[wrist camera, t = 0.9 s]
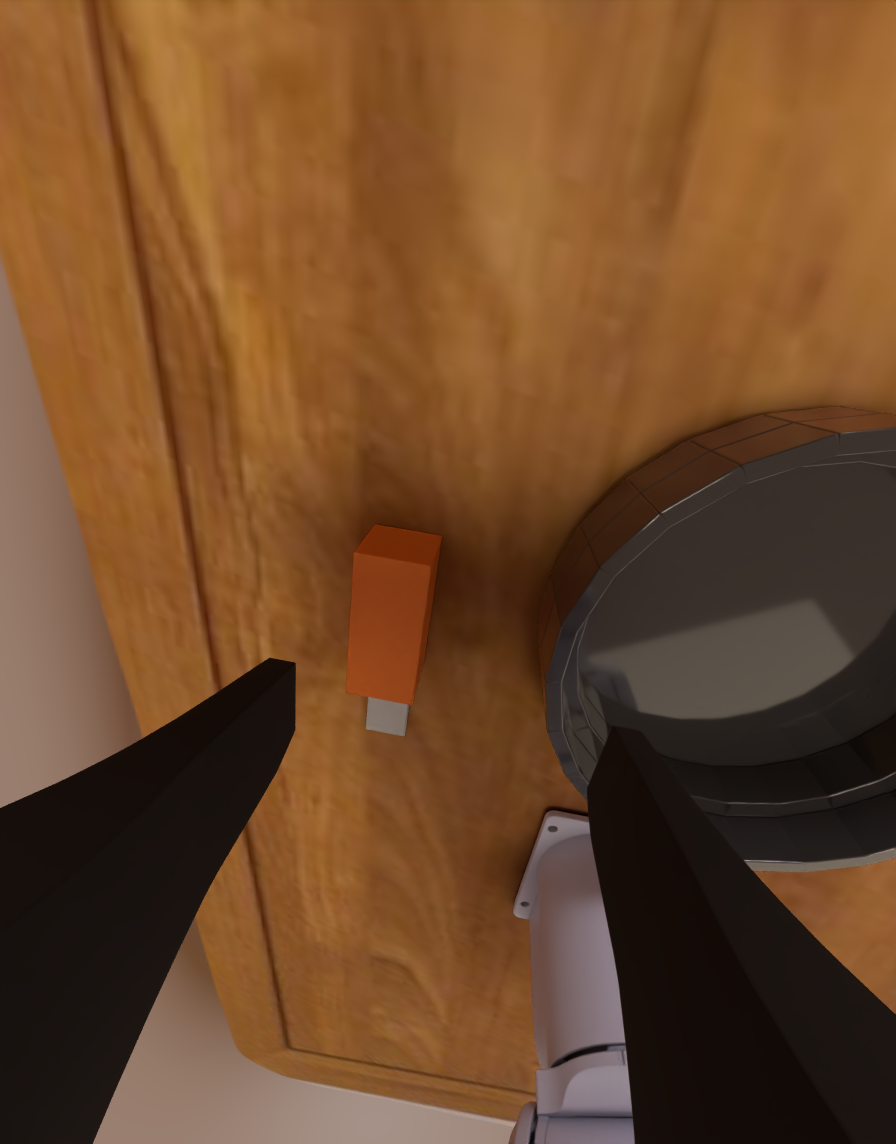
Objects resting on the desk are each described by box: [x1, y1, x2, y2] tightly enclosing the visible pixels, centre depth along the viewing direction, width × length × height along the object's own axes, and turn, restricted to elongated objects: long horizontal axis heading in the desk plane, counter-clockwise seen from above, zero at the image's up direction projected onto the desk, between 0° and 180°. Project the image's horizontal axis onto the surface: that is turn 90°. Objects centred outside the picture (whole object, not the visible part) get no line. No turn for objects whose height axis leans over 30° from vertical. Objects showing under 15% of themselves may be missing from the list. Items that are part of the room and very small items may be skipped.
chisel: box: [346, 524, 442, 736], centre depth 20 cm, size 11×3×3 cm, turn 172°
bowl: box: [538, 406, 896, 872], centre depth 17 cm, size 17×17×4 cm
